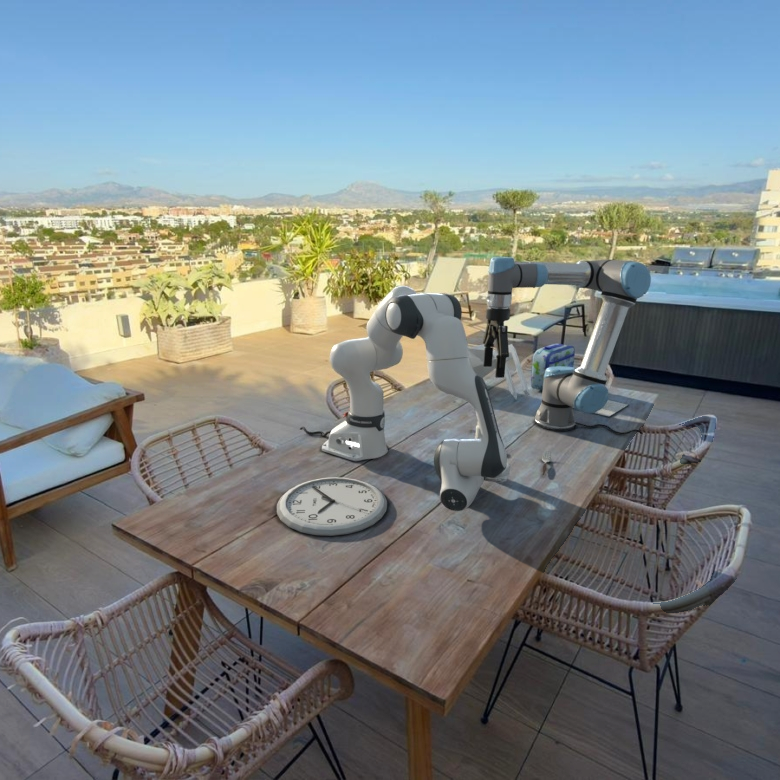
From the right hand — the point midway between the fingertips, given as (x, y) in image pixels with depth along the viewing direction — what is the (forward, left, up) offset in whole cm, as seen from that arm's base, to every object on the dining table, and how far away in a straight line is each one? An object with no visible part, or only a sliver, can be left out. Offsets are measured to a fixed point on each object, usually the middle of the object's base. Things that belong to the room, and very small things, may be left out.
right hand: (493, 371), depth 172 cm
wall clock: (+44, +45, -28) cm, 69 cm away
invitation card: (-52, -54, -28) cm, 80 cm away
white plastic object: (0, -66, -28) cm, 72 cm away
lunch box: (-35, -79, -28) cm, 91 cm away
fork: (-18, +11, -28) cm, 35 cm away
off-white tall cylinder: (+3, +18, -28) cm, 33 cm away
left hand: (+4, +21, -21) cm, 30 cm away
